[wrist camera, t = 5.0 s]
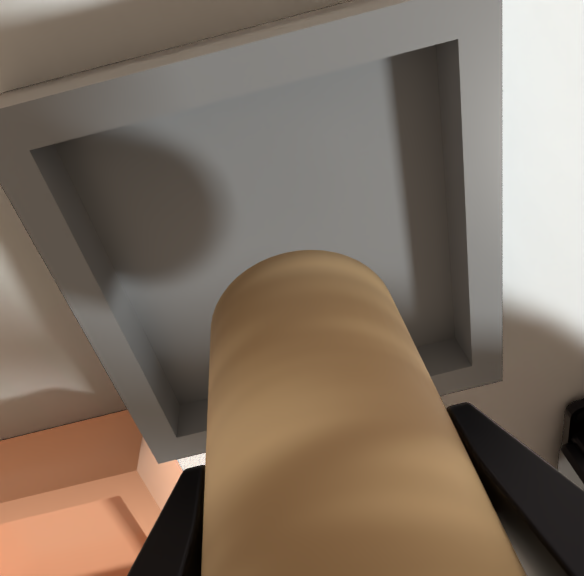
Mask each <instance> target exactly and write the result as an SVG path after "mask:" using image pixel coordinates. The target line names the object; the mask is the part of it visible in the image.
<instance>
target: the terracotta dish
mask: <svg viewBox="0 0 584 576" xmlns="http://www.w3.org/2000/svg"><path fill="white" fill-rule="evenodd" d="M182 472H183V470H182V469H181V467H180V465H179V463H178V461H177V460H173V461H169V462H165V463H160V464H158V463H157V461H156V459H155V457H154V455H153V454H152V452H151V450H150V448H149V447H148V445H147V443H146V441H145V440H144V438H143V436H142V434H141V432H140V431H139V429H138V427H137V425H136V424H135V422H134V420H133V418H132V417H131V415H130V413H129V411H128V410H124V411H120V412H116V413H112V414H108V415H104V416H100V417H96V418H92V419H88V420H84V421H79V422H75V423H71V424H67V425H63V426H59V427H55V428H51V429H47V430H43V431H39V432H35V433H30V434H26V435H22V436H18V437H14V438H10V439H6V440H2V441H0V576H127V574H128V573H129V571H130V569H131V567H132V565H133V563H134V561H135V559H136V558H137V556H138V554H139V552H140V550H141V548H142V546H143V544H144V543H145V541H146V539H147V537H148V535H149V533H150V531H151V529H152V528H153V526H154V524H155V522H156V520H157V518H158V516H159V515H160V513H161V511H162V509H163V507H164V505H165V503H166V501H167V500H168V498H169V496H170V494H171V492H172V490H173V488H174V486H175V485H176V483H177V481H178V479H179V477H180V475H181V473H182Z"/></svg>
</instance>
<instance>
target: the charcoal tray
mask: <svg viewBox="0 0 584 576" xmlns="http://www.w3.org/2000/svg"><path fill="white" fill-rule="evenodd" d="M0 184H1V186H2V188H3V190H4V192H5V193H6V195H7V197H8V199H9V200H10V202H11V204H12V206H13V207H14V209H15V211H16V213H17V215H18V216H19V218H20V220H21V222H22V223H23V225H24V227H25V229H26V230H27V232H28V234H29V236H30V238H31V239H32V241H33V243H34V245H35V246H36V248H37V250H38V252H39V254H40V255H41V257H42V259H43V261H44V262H45V264H46V266H47V268H48V269H49V271H50V273H51V275H52V277H53V278H54V280H55V282H56V284H57V285H58V287H59V289H60V291H61V292H62V294H63V296H64V298H65V300H66V301H67V303H68V305H69V307H70V308H71V310H72V312H73V314H74V316H75V317H76V319H77V321H78V323H79V324H80V326H81V328H82V330H83V331H84V333H85V335H86V337H87V339H88V340H89V342H90V344H91V346H92V347H93V349H94V351H95V353H96V354H97V356H98V358H99V360H100V362H101V363H102V365H103V367H104V369H105V370H106V372H107V374H108V376H109V378H110V379H111V381H112V383H113V385H114V386H115V388H116V390H117V392H118V393H119V395H120V397H121V399H122V401H123V402H124V404H125V406H126V408H127V409H128V411H129V413H130V415H131V417H132V418H133V420H134V422H135V424H136V425H137V427H138V429H139V431H140V432H141V434H142V436H143V438H144V440H145V441H146V443H147V445H148V447H149V448H150V450H151V452H152V454H153V455H154V457H155V459H156V461H157V463H158V464H160V463H165V462H169V461H173V460H177V459H181V458H185V457H189V456H193V455H198V454H202V453H206V438H207V412H208V387H209V361H210V335H211V322H212V317H213V313H214V310H215V308H216V305H217V303H218V301H219V299H220V297H221V296H222V294H223V293H224V291H225V290H226V289H227V287H228V286H229V285H230V284H231V283H232V282H233V281H234V280H235V279H236V278H237V277H238V276H239V275H241V274H242V273H243V272H244V271H246V270H247V269H249V268H250V267H252V266H254V265H255V264H257V263H259V262H261V261H263V260H265V259H268V258H270V257H273V256H276V255H279V254H283V253H287V252H293V251H300V250H324V251H330V252H335V253H339V254H342V255H346V256H348V257H351V258H353V259H355V260H357V261H359V262H361V263H362V264H364V265H366V266H367V267H369V268H370V269H371V270H372V271H373V272H374V273H376V274H377V275H378V277H379V278H380V279H381V280H382V281H383V282H384V284H385V286H386V287H387V289H388V290H389V292H390V294H391V296H392V299H393V301H394V303H395V305H396V307H397V309H398V311H399V313H400V315H401V317H402V319H403V321H404V323H405V325H406V327H407V330H408V332H409V334H410V336H411V338H412V340H413V342H414V344H415V346H416V348H417V350H418V352H419V354H420V356H421V358H422V360H423V363H424V365H425V367H426V369H427V371H428V373H429V375H430V377H431V379H432V381H433V383H434V385H435V387H436V389H437V391H438V393H439V396H442V395H446V394H450V393H454V392H458V391H463V390H467V389H471V388H475V387H479V386H483V385H487V384H491V383H496V382H500V381H502V0H353V1H349V2H345V3H341V4H337V5H334V6H330V7H326V8H322V9H318V10H315V11H311V12H307V13H303V14H300V15H296V16H292V17H288V18H284V19H281V20H277V21H273V22H269V23H265V24H262V25H258V26H254V27H250V28H246V29H243V30H239V31H235V32H231V33H228V34H224V35H220V36H216V37H212V38H209V39H205V40H201V41H197V42H193V43H190V44H186V45H182V46H178V47H174V48H171V49H167V50H163V51H159V52H155V53H152V54H148V55H144V56H140V57H137V58H133V59H129V60H125V61H121V62H118V63H114V64H110V65H106V66H102V67H99V68H95V69H91V70H87V71H83V72H80V73H76V74H72V75H68V76H65V77H61V78H57V79H53V80H49V81H46V82H42V83H38V84H34V85H30V86H27V87H23V88H19V89H15V90H11V91H8V92H4V93H2V94H0Z"/></svg>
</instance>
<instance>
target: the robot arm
mask: <svg viewBox="0 0 584 576" xmlns="http://www.w3.org/2000/svg"><path fill="white" fill-rule="evenodd" d="M447 412H448V414H449V416H450V418H451V420H452V422H453V424H454V427H455V429H456V431H457V433H458V435H459V437H460V439H461V441H462V443H463V445H464V447H465V449H466V451H467V453H468V455H469V457H470V460H471V462H472V464H473V466H474V468H475V470H476V472H477V474H478V476H479V478H480V480H481V482H482V484H483V486H484V488H485V491H486V493H487V495H488V497H489V499H490V501H491V503H492V505H493V507H494V509H495V511H496V513H497V515H498V517H499V519H500V521H501V524H502V526H503V528H504V530H505V532H506V534H507V536H508V538H509V540H510V542H511V544H512V546H513V548H514V550H515V552H516V554H517V557H518V559H519V561H520V563H521V565H522V567H523V569H524V571H525V573H526V575H527V576H584V399H582V400H578V401H575V402H573V403H571V404H570V405H569V406H568V407H567V408H566V411H565V419H564V429H563V440H562V446H561V448H560V451H559V462H558V470H557V469H556V468H554V467H553V466H552V465H550V464H549V463H548V462H546V461H545V460H544V459H543V458H541V457H540V456H539V455H537V454H536V453H535V452H533V451H532V450H531V449H529V448H528V447H527V446H526V445H524V444H523V443H522V442H520V441H519V440H518V439H516V438H515V437H514V436H513V435H511V434H510V433H509V432H507V431H506V430H505V429H503V428H502V427H501V426H499V425H498V424H497V423H496V422H494V421H493V420H492V419H490V418H489V417H488V416H486V415H485V414H484V413H483V412H481V411H480V410H479V409H477V408H476V407H475V406H473V405H472V404H470V403H467V402H465V403H460V404H456V405H452V406H449V407H448V408H447ZM204 490H205V465H200V466H196V467H192V468H188V469H185V470H184V471H183V472H182V473H181V475H180V477H179V479H178V481H177V483H176V485H175V486H174V488H173V490H172V492H171V494H170V496H169V498H168V500H167V501H166V503H165V505H164V507H163V509H162V511H161V513H160V515H159V516H158V518H157V520H156V522H155V524H154V526H153V528H152V529H151V531H150V533H149V535H148V537H147V539H146V541H145V543H144V544H143V546H142V548H141V550H140V552H139V554H138V556H137V558H136V559H135V561H134V563H133V565H132V567H131V569H130V571H129V573H128V574H127V576H201V567H202V541H203V516H204Z"/></svg>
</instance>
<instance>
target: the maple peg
mask: <svg viewBox="0 0 584 576" xmlns="http://www.w3.org/2000/svg"><path fill="white" fill-rule="evenodd" d="M201 576H527V575H526V573H525V571H524V569H523V567H522V565H521V563H520V561H519V559H518V557H517V554H516V552H515V550H514V548H513V546H512V544H511V542H510V540H509V538H508V536H507V534H506V532H505V530H504V528H503V526H502V524H501V521H500V519H499V517H498V515H497V513H496V511H495V509H494V507H493V505H492V503H491V501H490V499H489V497H488V495H487V493H486V491H485V488H484V486H483V484H482V482H481V480H480V478H479V476H478V474H477V472H476V470H475V468H474V466H473V464H472V462H471V460H470V457H469V455H468V453H467V451H466V449H465V447H464V445H463V443H462V441H461V439H460V437H459V435H458V433H457V431H456V429H455V427H454V424H453V422H452V420H451V418H450V416H449V414H448V412H447V410H446V408H445V406H444V404H443V402H442V400H441V398H440V396H439V393H438V391H437V389H436V387H435V385H434V383H433V381H432V379H431V377H430V375H429V373H428V371H427V369H426V367H425V365H424V363H423V360H422V358H421V356H420V354H419V352H418V350H417V348H416V346H415V344H414V342H413V340H412V338H411V336H410V334H409V332H408V330H407V327H406V325H405V323H404V321H403V319H402V317H401V315H400V313H399V311H398V309H397V307H396V305H395V303H394V301H393V299H392V296H391V294H390V292H389V290H388V289H387V287H386V286H385V284H384V282H383V281H382V280H381V279H380V278H379V277H378V275H377V274H376V273H374V272H373V271H372V270H371V269H370V268H369V267H367V266H366V265H364V264H362V263H361V262H359V261H357V260H355V259H353V258H351V257H348V256H346V255H342V254H339V253H335V252H330V251H324V250H300V251H293V252H287V253H283V254H279V255H276V256H273V257H270V258H268V259H265V260H263V261H261V262H259V263H257V264H255V265H254V266H252V267H250V268H249V269H247V270H246V271H244V272H243V273H242V274H241V275H239V276H238V277H237V278H236V279H235V280H234V281H233V282H232V283H231V284H230V285H229V286H228V287H227V289H226V290H225V291H224V293H223V294H222V296H221V297H220V299H219V301H218V303H217V305H216V308H215V310H214V313H213V317H212V322H211V335H210V361H209V387H208V412H207V438H206V464H205V490H204V516H203V541H202V567H201Z"/></svg>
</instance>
